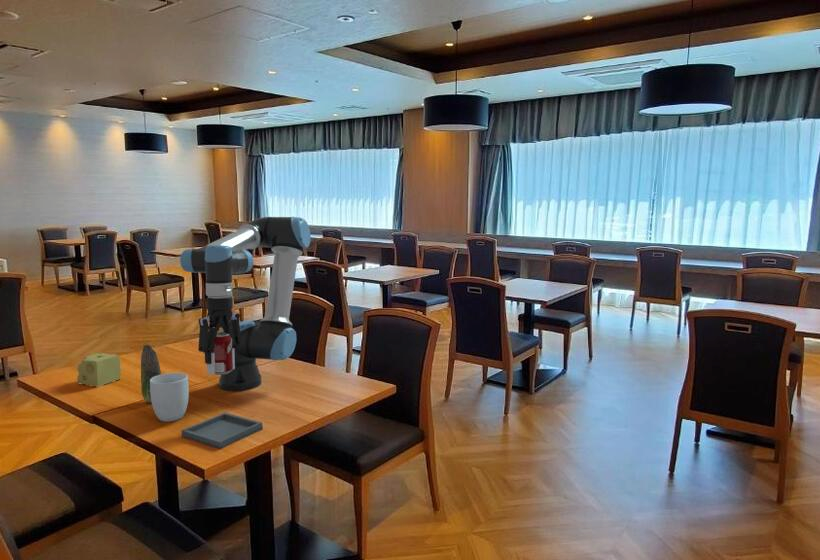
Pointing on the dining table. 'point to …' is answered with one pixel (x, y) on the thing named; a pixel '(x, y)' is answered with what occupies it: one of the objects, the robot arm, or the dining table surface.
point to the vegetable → (148, 370)
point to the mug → (169, 395)
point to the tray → (222, 430)
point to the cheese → (99, 369)
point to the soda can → (223, 353)
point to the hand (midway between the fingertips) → (221, 371)
